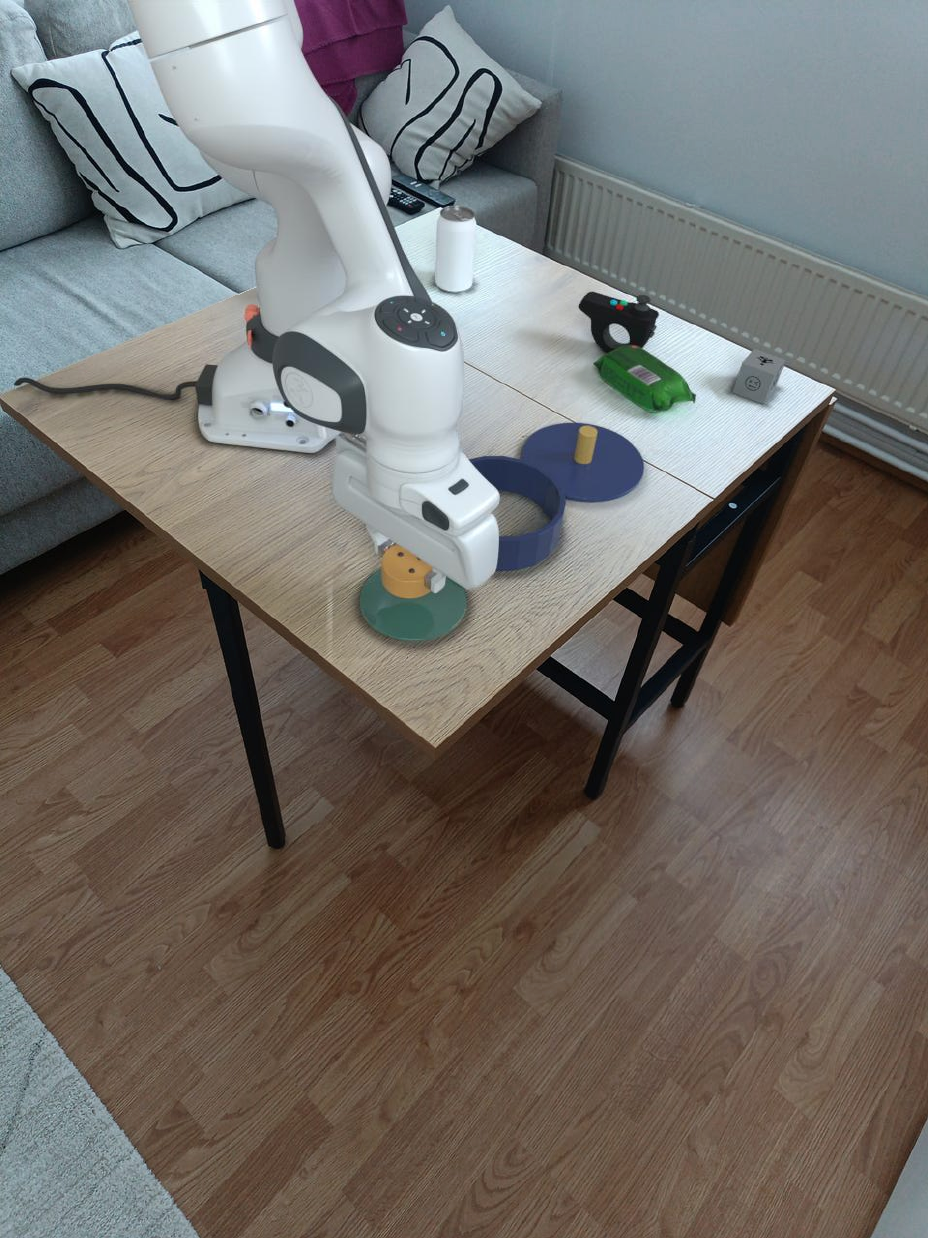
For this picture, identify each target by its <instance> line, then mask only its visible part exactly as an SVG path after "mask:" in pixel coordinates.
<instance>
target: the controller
mask: <svg viewBox="0 0 928 1238" xmlns="http://www.w3.org/2000/svg"><path fill="white" fill-rule="evenodd" d="M636 302H637V303H636ZM636 302H629V301H627V300H624V299H623V300H622V299H619V298H616V297H612V296H609V295H606V294H603V293H599V292H596V291H588V292H587V293H585V295H584V296H583V297H582V299H581V300H580V302H579V303H578V306H577V308H578V310H579V311H580V312H581V313H583V314H584V315H585V316H587V317H588V318H589V319H590V332H591V337H592V338H593V340H594V342H595V344H596V345H597V346H598V347H599V348H600V349H601V350H602V351H603V352H605V354H607V353H609V352H611V351H613V350H615V349H617V348H619V347H621V346H625V345H636V346H638V347H641V348H642V349H644V347H645V345H647V343H648V342H649V340H650V339H651V338H653V337H654V336H655V334H656V332H655V331H656V330H657V327H658V326H657V325H656V322H657V319H658V318H659V316H660V313H659V311H658V310H656V309H654V308H652V307H650V306H649V304H650V303H651V297H650V296H648V295H646V294H639V295H638V296H636ZM611 325H617V326H621V327H622V328H624V329H625V330H626V332H627V334H628V336H629V341H628V342H627V343H622V342H619V341H616V340H615V339H614V337H613V336H612V334H611V332H610V326H611Z"/></svg>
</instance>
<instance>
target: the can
mask: <svg viewBox="0 0 928 1238" xmlns="http://www.w3.org/2000/svg"><path fill="white" fill-rule="evenodd" d="M475 214H476V213H475V211H473V209H471V208H469V207H467V206H462V205H448V206H445V207H443V208H441V209H440V210H439V216H438V218H437V221H436V232H435V233H436V234H435V261H434V262H435V263H434V284H435V285H436V286H437V288H439V289H440V290H441V291H444V292H447V293H451V294H453V293H454V294H456V293H457V294H459V293H464V292H466V291H468V290H469V289H470V288H471V287H472V286H473V282H474V270H475V269H474V268H475V255H476V241H477V240H476V239H477V221H476V218H475V216H476V215H475Z"/></svg>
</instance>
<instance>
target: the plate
mask: <svg viewBox="0 0 928 1238" xmlns="http://www.w3.org/2000/svg"><path fill="white" fill-rule="evenodd" d="M467 600H468V599H467V594H466V591H465V588H463V587H462V586H461V585H459V584H457V583H456V582H454V581H453V580H451V579H450V578H448V577H447V576H446V579H445V585H444V587H443V588H442V589H441V590H440V591H438V592H437V593H434V592H432V591H430V592H429V593H427V594H426V595H424V596H421V597H418V598H402V597H398V596H395V595H393V594H391V593H390V592H389V591H387V590H386V588H385V587H384V585H383V583H382V577H381V569H379V570H377V571H376V572H375V573H373V574H372V575H371V576H369V578H368V579H367V580H366V582H365V583H364V584H363V586H362V588H361V590H360V594H359V607H360V608H359V609H360V611H361V613H362V616H363V618H364V619H365V621H366V622H367V623H368V624H369V626H371V628H373V630H375V631H376V632H378V633H380V634H381V635H384V636H386V637H388V638H391V639H394V640H397V641H403V642H415V643H416V642H417V643H418V642H425V641H426V642H427V641H432V640H434V639H438V638H440V637H443V636H445V635H446V634H449V632H451V631H452V630H454V629H455V628H456V627H457V626H458V625H459V624H460V622H461V621H462V620H463V618H464V616H465V613H466V611H467V605H468V604H467Z"/></svg>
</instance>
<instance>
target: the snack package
mask: <svg viewBox="0 0 928 1238" xmlns="http://www.w3.org/2000/svg"><path fill="white" fill-rule="evenodd" d="M593 365H594V366H595V367H596V369H597V370H598V373H599V375H600V377H601V379H602V380H603V382H604V383H606V384H607V385H608V386H609V387H611V388H613V389H614V390H615V391H616V392H618V393H619V394H621V395H622V396H624V397H625V398H626V399H627V400H629V401H631V402H632V403H633V404H635V405H636V406H638V407H640V408H641V409H642V410H644V411H646V412H648V413H650V414H656V413H658V412H666V411H668V410H670V409H671V408H672V407H673V406H675V405H678V404H682V403H687V402H692V403H693V404H695V403H696V397H697V394H696V393H694V392H693V391H692V390H691V389H690V386H689V384H688V382H687V381H686V379H685V378H684V377H683V376H682V374H681V373H679V372H678V371H676V370H675V369H674V368H672V367H671V366H669V365H668V364H666V362H665V363H664V362H663V361H662V360H660V359H659V358H658V357H656V356H655V355H653V354H651V353H650V352H649V351H647V350H646V349H644V348H641V347H638V346H636V345H625V346H621V347H619V348H617V349H615V350H613V351H611V352H609V353H605V354H603V355H601V356H600V357H599V358H598V359H597V360H596V361H594V362H593Z"/></svg>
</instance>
